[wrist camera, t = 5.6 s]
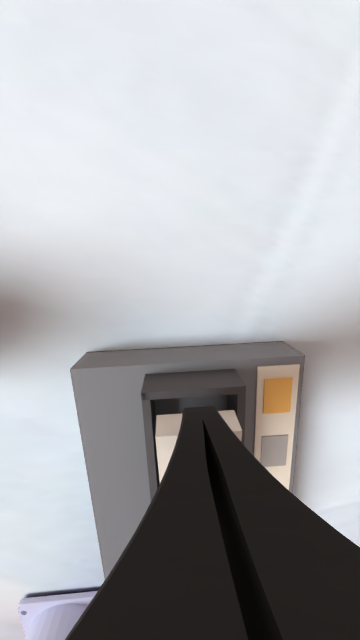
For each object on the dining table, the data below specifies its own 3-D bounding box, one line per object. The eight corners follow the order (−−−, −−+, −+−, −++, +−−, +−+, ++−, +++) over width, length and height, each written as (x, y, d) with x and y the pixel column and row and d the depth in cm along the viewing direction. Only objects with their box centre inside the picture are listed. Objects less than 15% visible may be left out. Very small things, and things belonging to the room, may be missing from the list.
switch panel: (269, 532, 19) (299, 610, 14) (114, 546, 18) (98, 632, 14) (282, 341, 15) (328, 370, 11) (86, 352, 14) (51, 387, 10)
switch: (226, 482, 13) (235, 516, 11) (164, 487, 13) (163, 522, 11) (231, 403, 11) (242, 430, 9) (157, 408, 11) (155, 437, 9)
